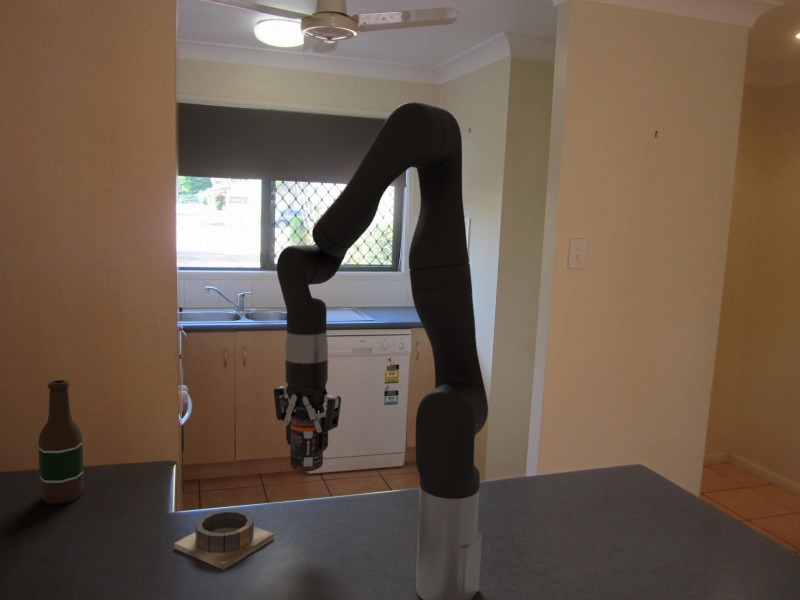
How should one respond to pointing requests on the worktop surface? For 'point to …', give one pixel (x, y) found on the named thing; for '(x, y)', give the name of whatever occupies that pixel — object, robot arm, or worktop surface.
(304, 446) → the supplement bottle
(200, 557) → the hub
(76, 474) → the beer bottle
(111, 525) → the worktop surface
